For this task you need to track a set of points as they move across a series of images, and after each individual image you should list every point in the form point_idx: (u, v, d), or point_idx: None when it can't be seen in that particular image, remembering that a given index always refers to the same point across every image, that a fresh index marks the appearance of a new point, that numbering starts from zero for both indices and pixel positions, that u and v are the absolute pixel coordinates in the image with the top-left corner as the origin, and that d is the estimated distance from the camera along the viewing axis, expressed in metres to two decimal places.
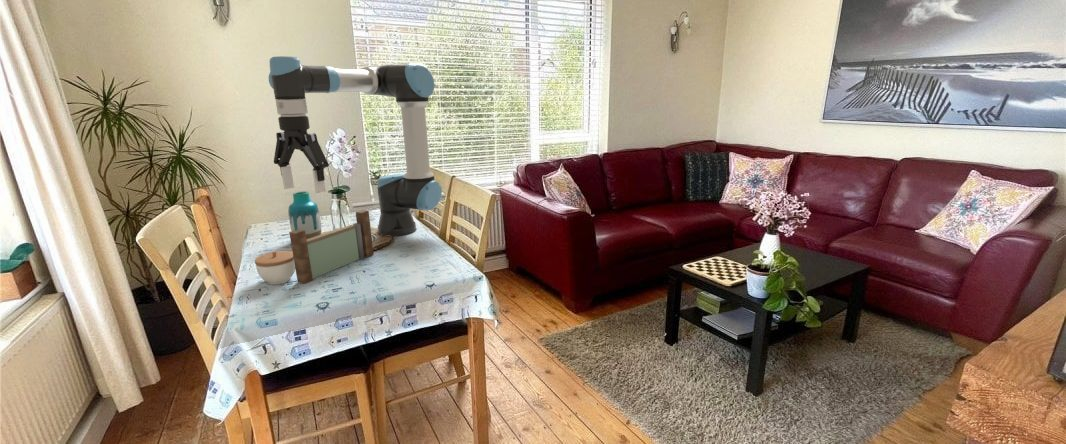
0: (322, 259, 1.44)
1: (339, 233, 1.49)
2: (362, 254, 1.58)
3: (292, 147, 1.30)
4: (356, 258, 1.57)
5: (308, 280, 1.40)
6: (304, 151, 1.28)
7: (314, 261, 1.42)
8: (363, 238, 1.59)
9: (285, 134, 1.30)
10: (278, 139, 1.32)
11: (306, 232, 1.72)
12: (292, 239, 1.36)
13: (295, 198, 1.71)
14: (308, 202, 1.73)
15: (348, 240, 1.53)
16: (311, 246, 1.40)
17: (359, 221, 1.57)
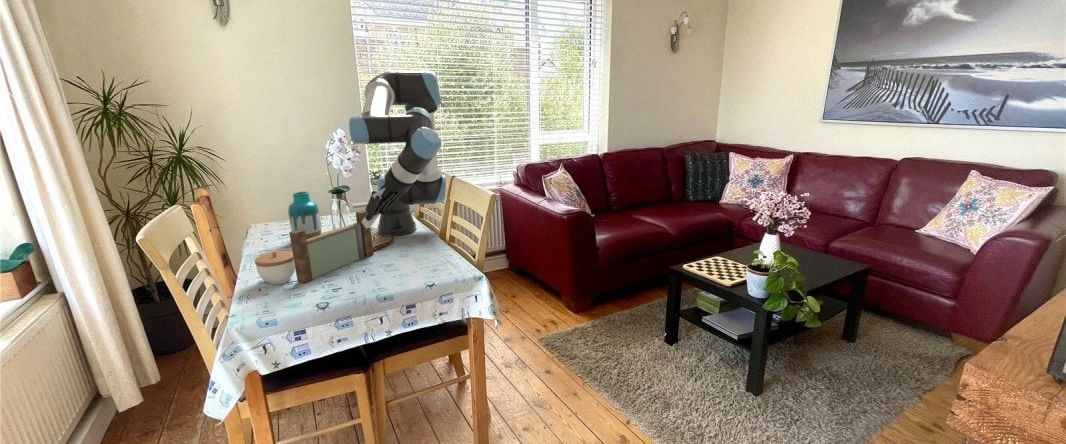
0: (322, 259, 1.44)
1: (339, 233, 1.49)
2: (362, 254, 1.58)
3: None
4: (356, 258, 1.57)
5: (308, 280, 1.40)
6: None
7: (314, 261, 1.42)
8: (363, 238, 1.59)
9: None
10: None
11: (306, 232, 1.72)
12: (292, 239, 1.36)
13: (295, 198, 1.71)
14: (308, 202, 1.73)
15: (348, 240, 1.53)
16: (311, 246, 1.40)
17: (359, 221, 1.57)
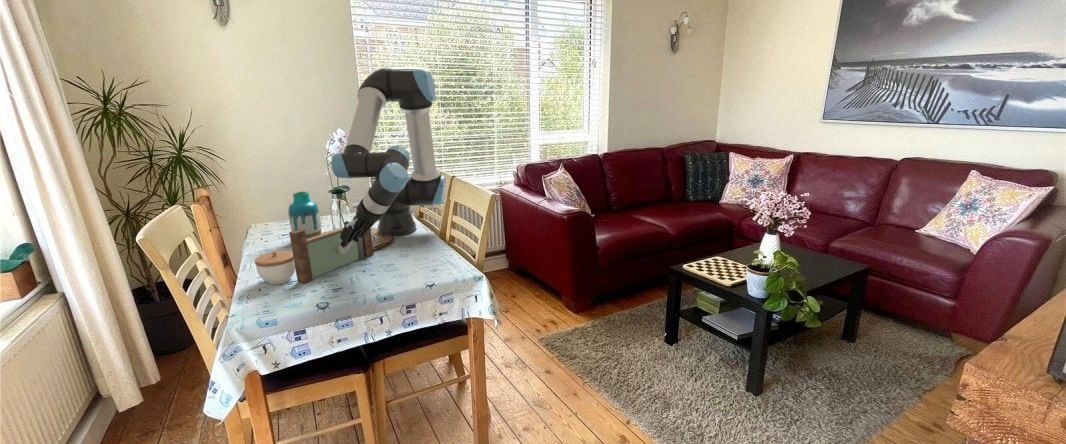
0: (321, 259, 1.44)
1: (339, 233, 1.49)
2: (362, 254, 1.58)
3: None
4: (356, 258, 1.57)
5: (308, 280, 1.40)
6: None
7: (313, 261, 1.42)
8: (363, 238, 1.59)
9: None
10: None
11: (306, 232, 1.72)
12: (292, 239, 1.36)
13: (295, 198, 1.71)
14: (308, 202, 1.73)
15: None
16: (310, 246, 1.40)
17: None
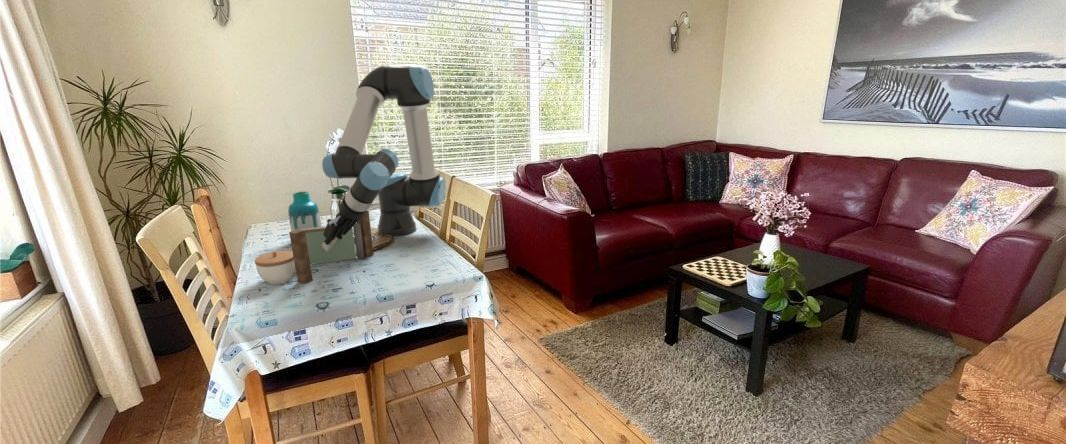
0: (308, 250, 1.52)
1: None
2: (359, 255, 1.58)
3: None
4: (352, 257, 1.58)
5: (308, 280, 1.40)
6: None
7: None
8: (363, 238, 1.59)
9: None
10: None
11: None
12: (292, 239, 1.36)
13: (295, 198, 1.71)
14: (308, 202, 1.73)
15: (342, 238, 1.55)
16: None
17: (359, 221, 1.57)
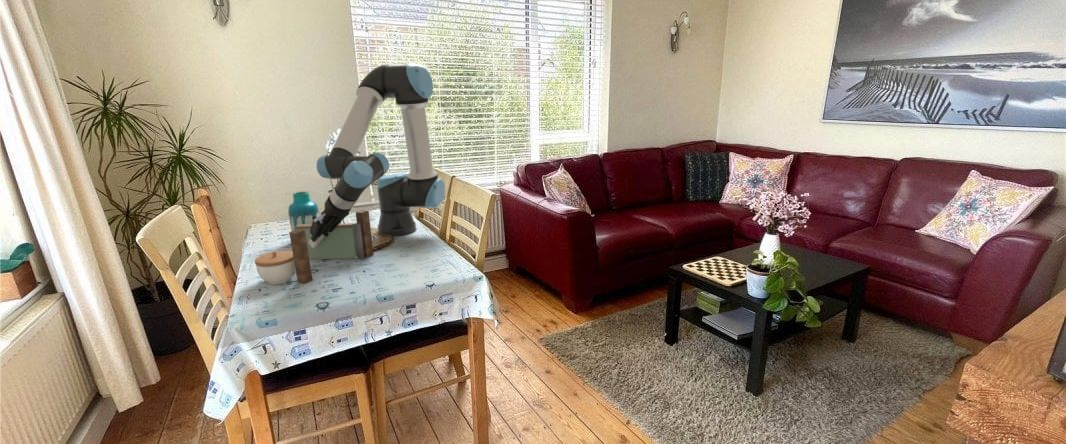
0: None
1: None
2: (358, 255, 1.58)
3: None
4: (352, 256, 1.58)
5: (308, 280, 1.40)
6: None
7: None
8: (363, 238, 1.59)
9: None
10: None
11: None
12: (292, 239, 1.36)
13: (295, 198, 1.71)
14: (308, 202, 1.73)
15: (342, 237, 1.56)
16: None
17: (359, 221, 1.57)
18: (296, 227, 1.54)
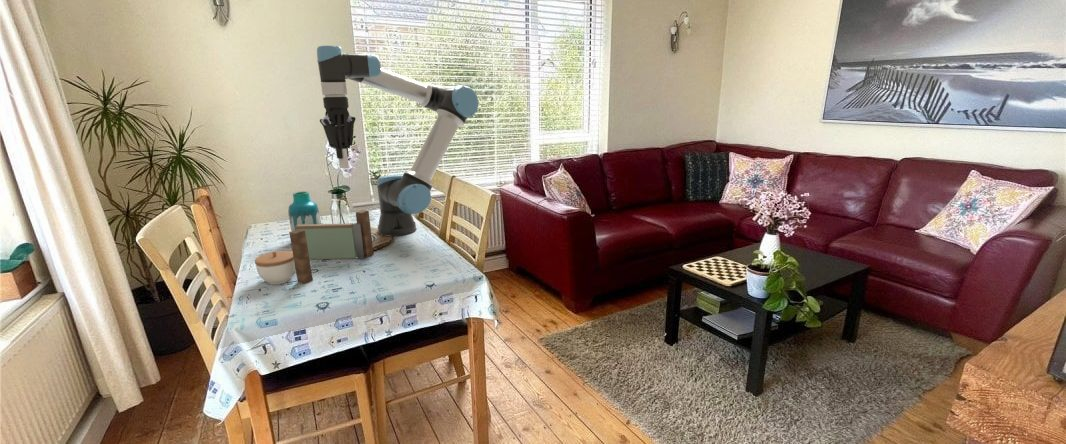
0: (311, 246, 1.57)
1: (331, 227, 1.55)
2: (358, 255, 1.58)
3: None
4: (352, 256, 1.58)
5: (308, 280, 1.40)
6: None
7: None
8: (363, 238, 1.59)
9: None
10: None
11: None
12: (292, 239, 1.36)
13: (295, 198, 1.71)
14: (308, 202, 1.73)
15: (342, 237, 1.56)
16: None
17: (359, 221, 1.57)
18: (296, 227, 1.54)
